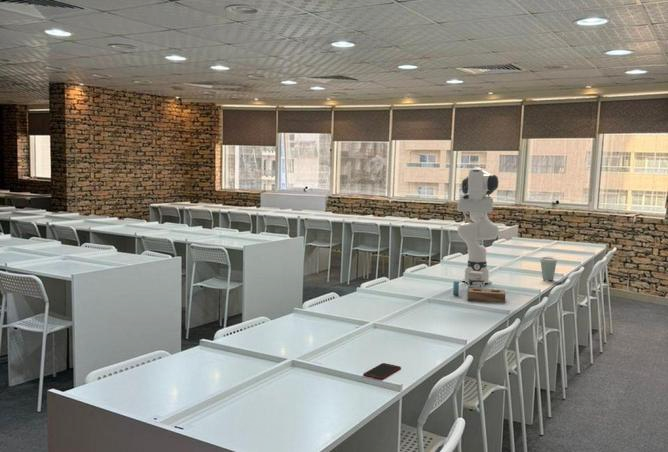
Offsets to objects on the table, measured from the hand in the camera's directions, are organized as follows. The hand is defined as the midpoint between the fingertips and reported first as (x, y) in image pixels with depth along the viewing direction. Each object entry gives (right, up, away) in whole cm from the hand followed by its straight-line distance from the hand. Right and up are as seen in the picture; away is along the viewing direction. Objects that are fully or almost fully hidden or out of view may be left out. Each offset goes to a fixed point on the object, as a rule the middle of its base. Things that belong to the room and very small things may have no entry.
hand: (474, 219), depth 335 cm
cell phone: (-66, -56, -135) cm, 160 cm away
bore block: (+3, -45, -16) cm, 48 cm away
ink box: (+3, -43, +7) cm, 44 cm away
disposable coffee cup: (+61, -40, +47) cm, 86 cm away
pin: (-12, -44, -4) cm, 46 cm away
